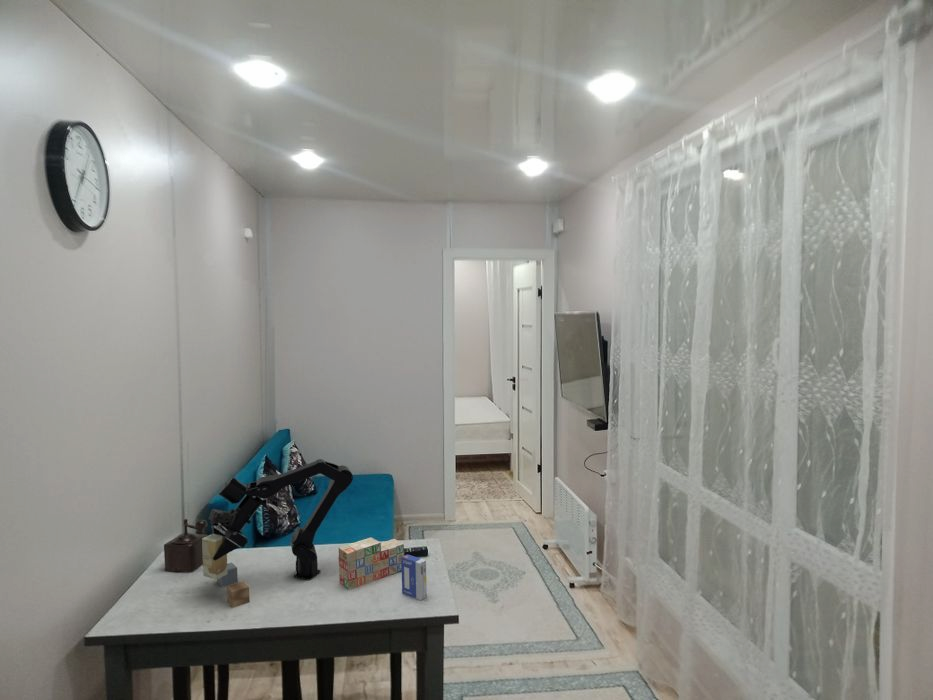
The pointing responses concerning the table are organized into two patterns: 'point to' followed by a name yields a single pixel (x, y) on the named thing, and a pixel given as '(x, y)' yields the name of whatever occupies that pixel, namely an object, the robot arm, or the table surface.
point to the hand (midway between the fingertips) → (209, 555)
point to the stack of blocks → (369, 561)
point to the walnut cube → (238, 594)
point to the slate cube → (229, 575)
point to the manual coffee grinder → (185, 549)
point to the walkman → (414, 577)
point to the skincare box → (210, 566)
